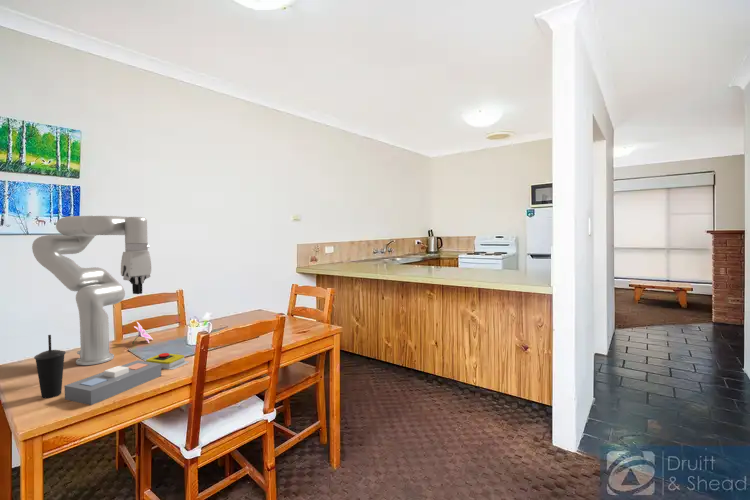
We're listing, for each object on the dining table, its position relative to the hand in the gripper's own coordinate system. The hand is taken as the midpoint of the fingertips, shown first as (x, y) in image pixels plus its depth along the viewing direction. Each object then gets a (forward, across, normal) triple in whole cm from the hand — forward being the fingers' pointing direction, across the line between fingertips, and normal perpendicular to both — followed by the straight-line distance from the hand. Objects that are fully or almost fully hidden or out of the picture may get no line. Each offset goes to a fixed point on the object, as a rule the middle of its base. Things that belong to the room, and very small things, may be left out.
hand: (137, 293), depth 147 cm
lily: (+29, -23, -27) cm, 46 cm away
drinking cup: (+29, +30, -2) cm, 42 cm away
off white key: (+26, +18, +12) cm, 34 cm away
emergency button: (+30, -5, +9) cm, 31 cm away
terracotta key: (+27, +11, +12) cm, 32 cm away
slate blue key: (+27, +26, +12) cm, 39 cm away
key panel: (+29, +18, +12) cm, 36 cm away
